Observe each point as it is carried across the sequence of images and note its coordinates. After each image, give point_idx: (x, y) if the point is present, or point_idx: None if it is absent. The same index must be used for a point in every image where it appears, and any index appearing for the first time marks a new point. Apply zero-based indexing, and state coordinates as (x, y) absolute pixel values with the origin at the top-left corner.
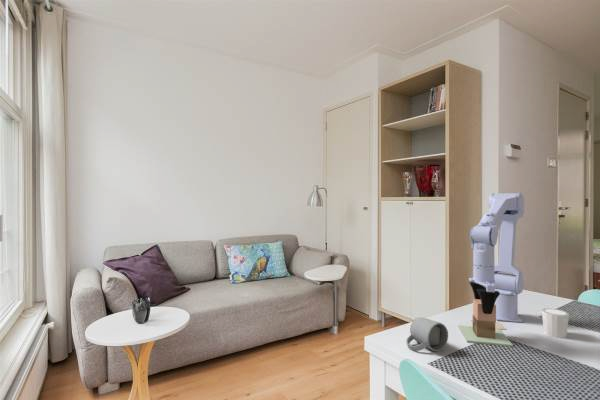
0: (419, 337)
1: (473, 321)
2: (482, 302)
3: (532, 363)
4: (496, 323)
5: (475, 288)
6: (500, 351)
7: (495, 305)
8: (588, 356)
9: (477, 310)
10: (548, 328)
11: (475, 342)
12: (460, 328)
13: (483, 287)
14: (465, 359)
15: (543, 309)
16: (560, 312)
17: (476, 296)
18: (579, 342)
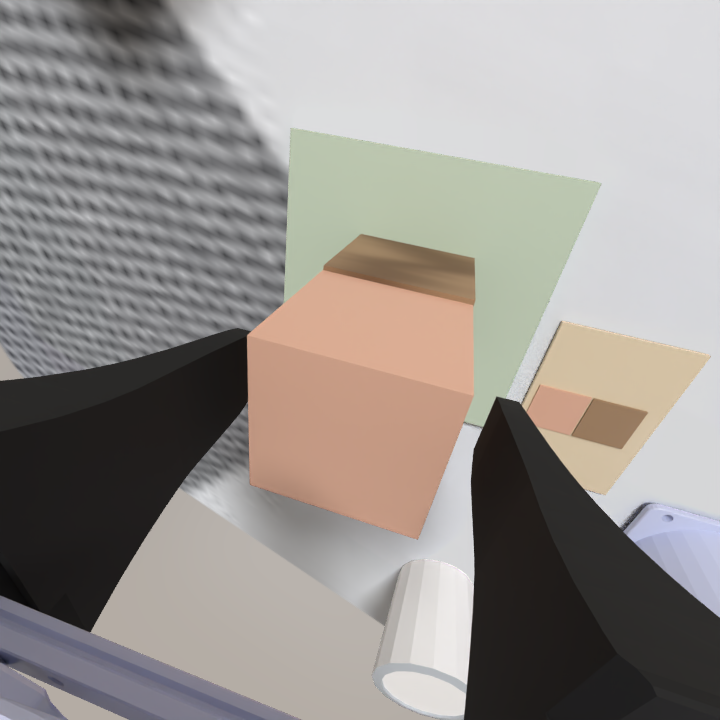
0: None
1: (444, 275)
2: (122, 363)
3: (145, 344)
4: (592, 468)
5: (541, 592)
6: (217, 279)
7: (251, 478)
8: (258, 532)
9: (288, 303)
10: (418, 586)
11: (290, 187)
12: (524, 174)
13: (487, 691)
14: (45, 2)
15: (465, 689)
16: (420, 701)
17: (514, 473)
18: (362, 586)
